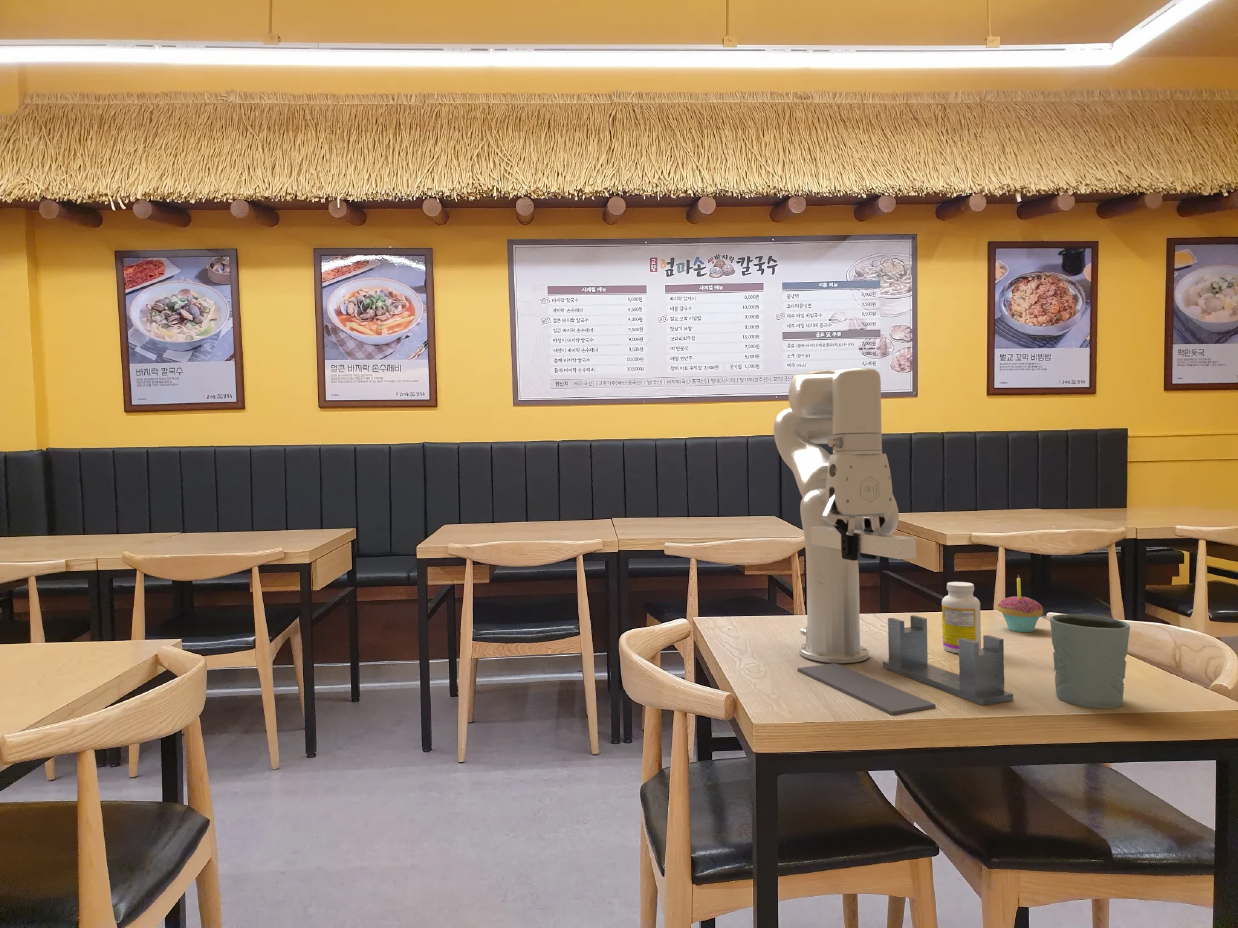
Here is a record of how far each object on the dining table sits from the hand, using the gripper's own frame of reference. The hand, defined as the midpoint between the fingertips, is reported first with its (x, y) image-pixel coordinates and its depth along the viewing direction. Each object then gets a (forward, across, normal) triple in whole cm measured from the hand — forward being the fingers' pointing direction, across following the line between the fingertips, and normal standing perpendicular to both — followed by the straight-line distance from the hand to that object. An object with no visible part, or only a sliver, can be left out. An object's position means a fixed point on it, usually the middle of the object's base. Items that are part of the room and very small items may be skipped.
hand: (859, 557), depth 118 cm
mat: (+21, 0, 0) cm, 21 cm away
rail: (-1, 0, 0) cm, 1 cm away
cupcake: (+21, +56, +19) cm, 63 cm away
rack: (+21, +14, -3) cm, 25 cm away
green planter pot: (+21, +28, -18) cm, 39 cm away
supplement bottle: (+21, +32, +11) cm, 40 cm away
